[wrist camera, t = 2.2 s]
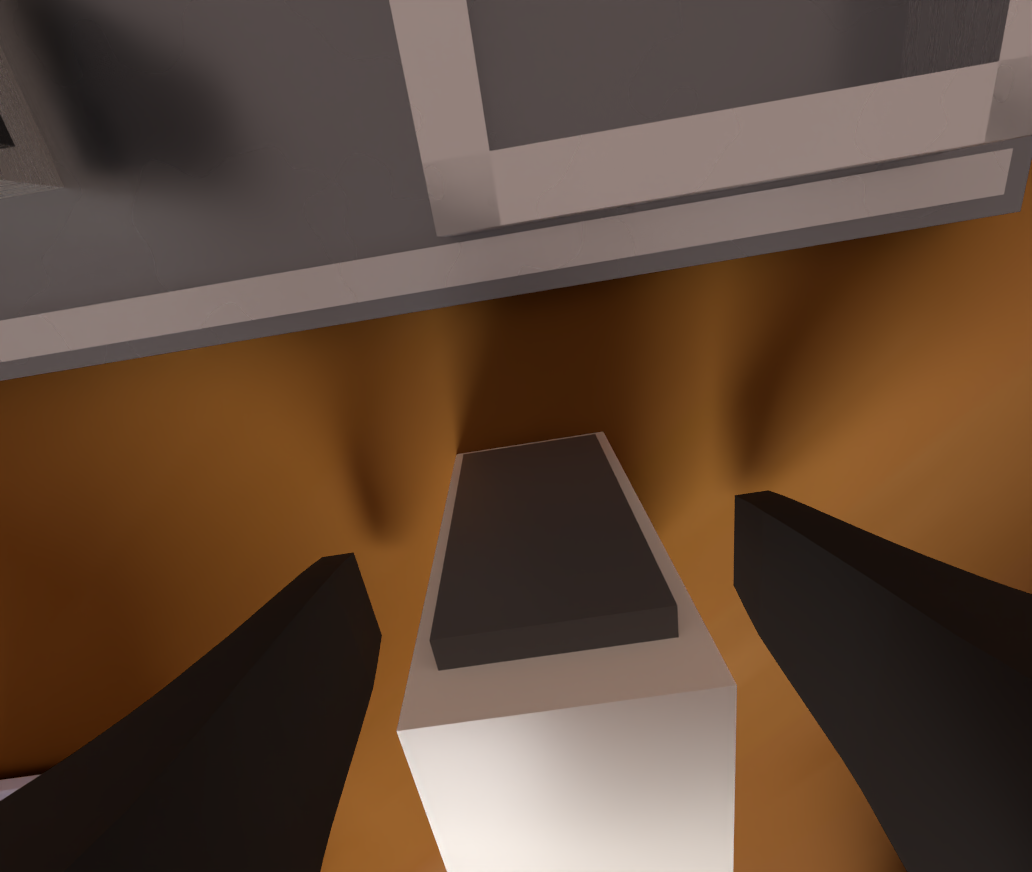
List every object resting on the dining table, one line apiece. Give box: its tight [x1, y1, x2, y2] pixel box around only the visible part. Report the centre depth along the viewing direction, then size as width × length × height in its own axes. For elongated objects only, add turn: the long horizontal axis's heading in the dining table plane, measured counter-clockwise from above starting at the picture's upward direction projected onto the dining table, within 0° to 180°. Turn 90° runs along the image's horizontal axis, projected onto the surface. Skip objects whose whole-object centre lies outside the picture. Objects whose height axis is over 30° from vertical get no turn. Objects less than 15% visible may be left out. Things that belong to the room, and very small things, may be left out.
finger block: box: [397, 432, 737, 872], centre depth 8 cm, size 3×4×6 cm
